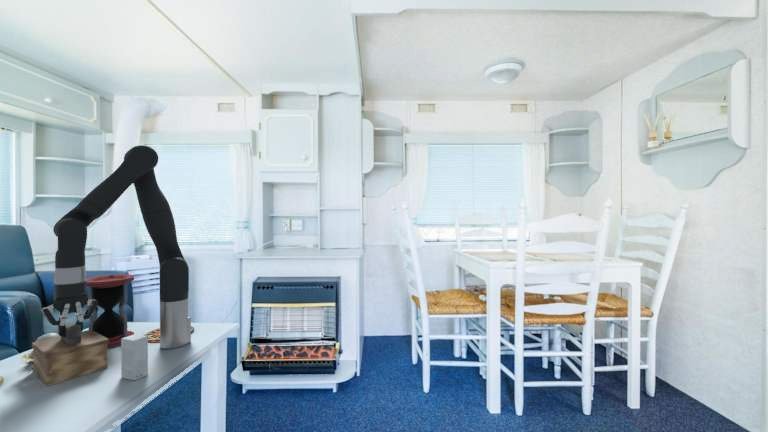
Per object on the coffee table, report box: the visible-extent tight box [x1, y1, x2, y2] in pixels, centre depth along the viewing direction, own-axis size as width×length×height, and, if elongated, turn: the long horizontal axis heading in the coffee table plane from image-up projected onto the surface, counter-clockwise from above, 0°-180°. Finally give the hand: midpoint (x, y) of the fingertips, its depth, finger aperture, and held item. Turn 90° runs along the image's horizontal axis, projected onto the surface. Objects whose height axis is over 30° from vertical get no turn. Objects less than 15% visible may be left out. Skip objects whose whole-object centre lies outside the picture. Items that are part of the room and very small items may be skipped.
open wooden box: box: [32, 344, 109, 387], centre depth 108 cm, size 14×16×8 cm
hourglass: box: [86, 273, 135, 349], centre depth 131 cm, size 16×16×25 cm
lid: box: [31, 321, 109, 359], centre depth 108 cm, size 15×17×7 cm
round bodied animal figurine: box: [28, 332, 60, 360], centre depth 117 cm, size 7×12×8 cm, turn 123°
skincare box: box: [120, 333, 149, 381], centre depth 103 cm, size 6×4×12 cm
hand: (70, 334), depth 108 cm, fingers closed on lid, 3 cm apart
